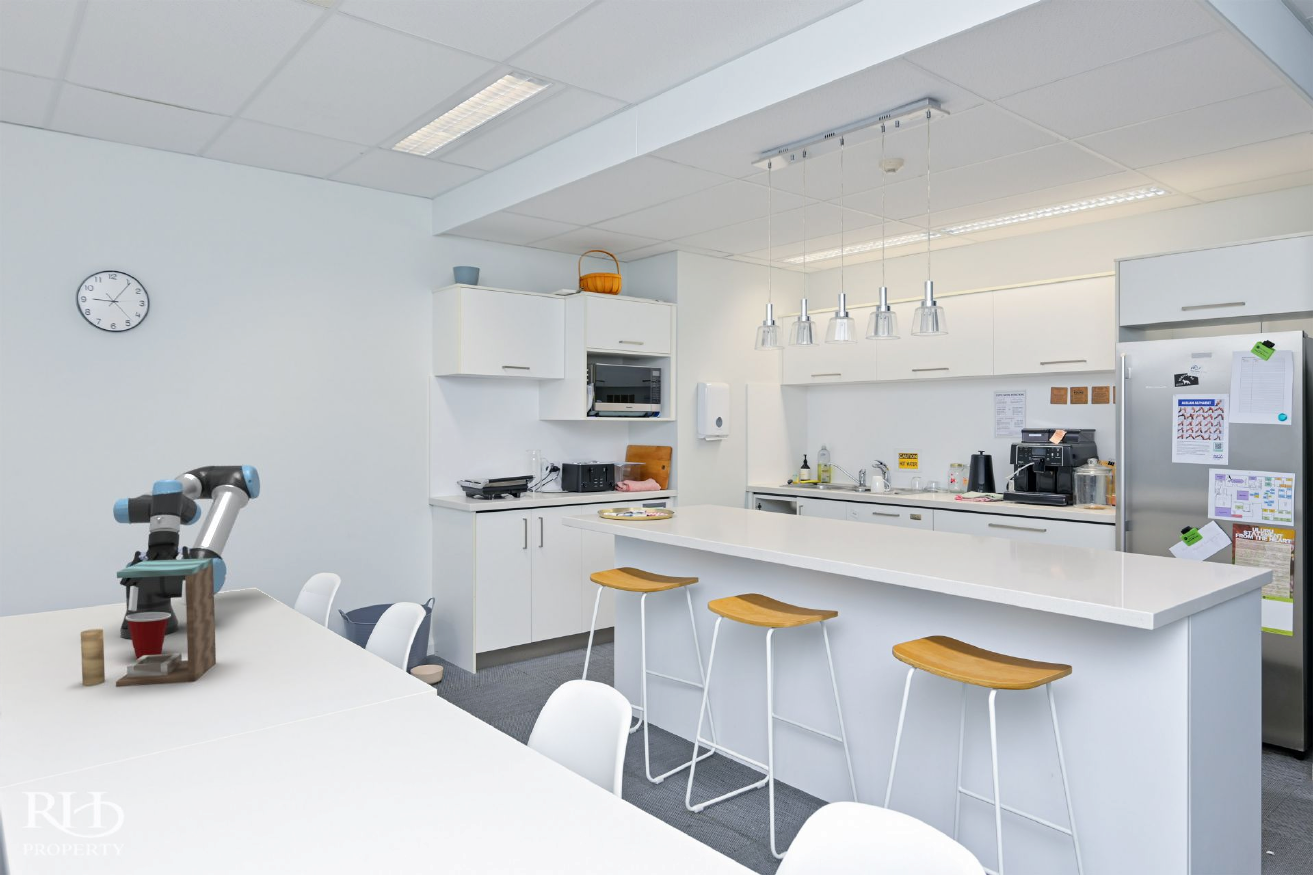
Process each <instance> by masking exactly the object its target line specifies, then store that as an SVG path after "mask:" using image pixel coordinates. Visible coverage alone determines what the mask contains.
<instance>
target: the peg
mask: <svg viewBox="0 0 1313 875" xmlns="http://www.w3.org/2000/svg"><path fill="white" fill-rule="evenodd" d="M104 642H105V641H104V629H103V628H93V629H87V630H83V631H81V632H80V644H81V645H80V646H81V647H80V649H81V674H82V675H81V676H82V677H81V678H82V680H81V681H82V685H83V686H85V687H87V686H89V687H90V686H95V685H99V684H102V683H105V682H106V681H105V680H106V676H105V675H106V673H105V647H104V646H105V645H104Z"/></svg>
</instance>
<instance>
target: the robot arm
mask: <svg viewBox="0 0 1313 875" xmlns="http://www.w3.org/2000/svg"><path fill="white" fill-rule="evenodd" d="M152 485H153V486H152V490H150V491H148V492H145V493H144V494H141V495H139V496H136V497H133V498H132V497H126V498H119V499H117V501H116V502H115V503H114V505H113V508H112V509H113V518H114V520H115V521H116V522H117V523H119V524H129V525H132V524H149V528H148V529H149V530H148V532H149V534H148V541H147V542H148V543H147V550H146V551H139V550H137V551H135V553H134V555H133V556H134V557H133V560H131V561H129V562H127V564H126V565H125V568H128V567H130V566H133V565H135V564H137V563H140V562H142V561H156V560H178V559H177V557H178V556H179V554H180V555H182V556H181V559H206V558H213V578H214V596H215V595H216V594H218V593H219V592H220V591H221V590H222V589H223V586H224V585H225V582H226V575H227V565H226V563H225V561H224V558H223V557H222V554H223V552H224V549H225V548H226V544H227V541H228V539H229V537H230V534H231V533H232V530H233V528H234V524H235V522H236V520H237V518H238V515H239V512H240V511H241V509H243V508H245V507H246V506H247V505H248V503H249V501H250V499H251V500H254V499H257V498H258V497H259V496H260V493H261V492H260V491H261V481H260V476H259V473H258V470H257V469H256V467H255V466H252V465H248V464H247V465H245V464H241V465H207V466H202V467H197V468H194V469H191V470H189V471H186V472H183V473H180V474H179V475H177V476H176V477H175V478H174V479H169V478H167V479H160V480H156V481H155V482H154V483H153V484H152ZM195 500H212V501H213V502H211V505H210V508H209V510H208V511H207V515H206V516H205V518H204V522H203V523H202V525H201V528H200V530H199V532H198V535H197V536H196V539H195V541H194V543H193V545H192V547H188V546H185V545H184V546H182V547H181V548H180V547H179V545H180V534H179V533H180V532H181V525H183V526H192V525H194V524H196V523H197V522H198V521H199V520H200V519H201V516H202V509H201V508H202V507H201V506H200V505H199V504H198V503H197V502H196V501H195ZM119 585H120V586H123V587H125V598H126V603H125V604H126V611H125V613H124V616H123V620H122V622H121V626H120V629H119V630H120V637H121V638H124V639H131V640H132V638H131V633H130V629H129V625H128V622H127V620H126V616H128V615H131V614H136V613H144V612H164V613H169V614H171V617H169V620H168V622H167V626H166V631H165V635H168V634H171V633H174V632H176V631H178V629H179V620H178V618H177V616H176V613H175V611H174V608H173V606H172V599H175V598H176V599H177V598H178V599H179V598H181V600H180V601H181V605H183V606H186V580H185V575H180V576H156V577H133V578H121V580H120V581H119Z"/></svg>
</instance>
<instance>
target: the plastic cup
mask: <svg viewBox="0 0 1313 875" xmlns="http://www.w3.org/2000/svg"><path fill="white" fill-rule="evenodd" d="M169 617H171V614H169V613H164V612H144V613H136V614H131V615H128V616H126V620H127V622H128V625H129V629H130V633H131V638H132V639H131V643H132V647H133V649H134V655H135V658H136V660H137V659H139V658H140V657H142V656H144V655H161V654H162V653H163V645H164V641H165V636H166V634H165V631H166V626H167V622H168V620H169Z"/></svg>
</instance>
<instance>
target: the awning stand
mask: <svg viewBox="0 0 1313 875" xmlns="http://www.w3.org/2000/svg"><path fill="white" fill-rule="evenodd" d="M180 575H185V580H186V605H185V608H186V609H185V611H186V639H187V643H186V646H187V660H183V658H182V653H179V652H178V653H164V654H162V653H161V655H144V656H142V657H140V658H139V659H137V658H136V660H134V661H133V662H131V663H130V664H128V665H127V666H126V669H127V670H126V671H127V672H126V674H125V675H123V676H122V677H121V678H119V679H117V680H116V681H115V687H127V686H128V687H131V686H143V685H160V684H176V683H177V684H178V683H186V682H188V683H191V682H196V681H197V680H198V679H199V678H201V677H202V676H203V675H204V674H205V673H206V672H207V671H209V670H210V669H211V668H212V667H213V666H214V665H215V664H217V660H216V659H217V658H216V657H217V656H216V655H217V654H216V653H217V652H216V650H217V648H216V624H215V623H216V620H215V619H216V618H215V595H214V578H213V558H206V559H182V558H181V559H177V560H156V561H142V562H140V563H137V564H135V565H133V566H130V567H128V568H126V567H125V568H123V569H121V570H119V571H117V572H116V578H117V579H122V578H133V577H156V576H180Z"/></svg>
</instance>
